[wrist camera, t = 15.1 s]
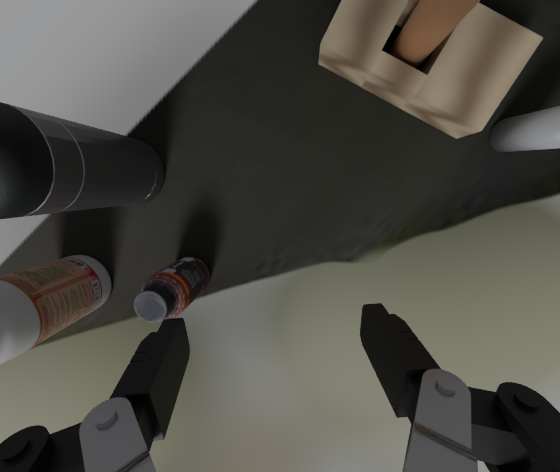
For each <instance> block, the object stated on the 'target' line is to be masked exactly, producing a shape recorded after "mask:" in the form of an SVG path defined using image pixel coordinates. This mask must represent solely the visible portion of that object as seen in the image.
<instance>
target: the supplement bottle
mask: <svg viewBox="0 0 560 472" xmlns="http://www.w3.org/2000/svg"><path fill="white" fill-rule="evenodd" d="M209 278H210V275H209V270H208V268H207V266H206V265H205V263H204V262H202V261H201V260H200V259H198V258H195V257H184V258H181V259H179V260H177V261H176V262H174V263H172V264H171V265H169V266H167V267H166V268H164V269H162V270H161V271H159V272H157V273H156V274H154V275H152V276H151V277H149V278H148V279H147V280H146V281H145V282H144V284H143V285H142V288H141V291H140V293H139V294H138V295H137V296H136V298H135V301H134V308H135V311H136V313H137V315H138V316H139V317H140V318H141V319H143V320H144V321H146V322H150V323H156V322H159V321H161V320H163V319H170V318H173V317H176V316H177V315H179V314H180V313H181V312H183V311H184V309H185V308H187V307H188V305H190V303H191V302H193V300H194V299H195V298H196V297H197V296H198V295H199V294H200V293H201V292H202V291H203V290H204V289H205V288H206V286H207V285H208V283H209Z"/></svg>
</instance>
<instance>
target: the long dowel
mask: <svg viewBox="0 0 560 472" xmlns="http://www.w3.org/2000/svg"><path fill="white" fill-rule="evenodd" d="M479 1H480V0H420V1H419V3H418V4H417V6H416V8H415V9H414V11H413V12H412V14H411V16H410V17H409V19H408V21H407V22H406V24H405V25H404V27H403V29H402V30H401V32H400V34H399V35H398V37H397V38H396V40H395V42H394V43H393V45H392V47H391V48H390V50H389V51H388V54H389V55H391V56H393V57H395V58H397V59H399V60H400V61H402V62H404V63H406V64H408V65H410V66H411V67H413V68H415V69H416V68H417V67H418V66H419V65H420V64H421V63H422V62H423V61H424V60H425V59H426V58H427V57H428V55H429V54H430V53H431V52H432V51H433V50H434V49H435V48H436V47H437V46H438V45H439V44H440V43H441V42H442V41H443V40H444V38H445V37H446V36H447V35H448V34H449V33H450V32H451V31H452V30H453V29H454V28H455V27H456V26H457V25H458V24H459V23H460V22H461V20H462V19H463V18H464V17H465V16H466V15H467V14H468V13H469V12H470V11H471V10H472V9H473V8H474V7H475V6H476V5H477V3H478V2H479Z"/></svg>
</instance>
